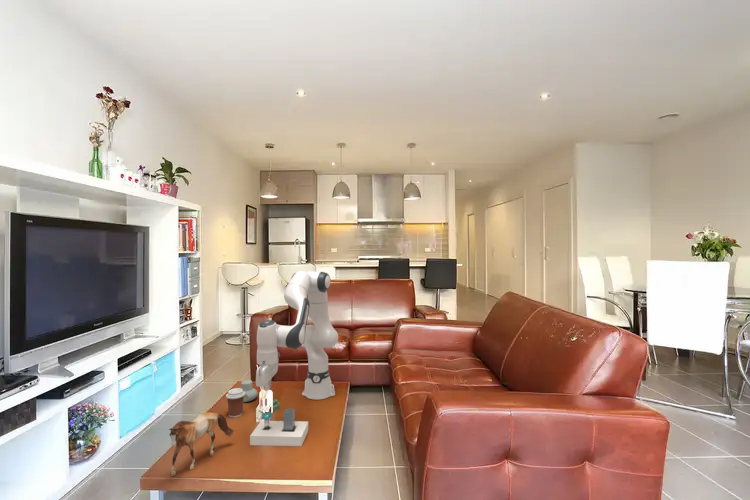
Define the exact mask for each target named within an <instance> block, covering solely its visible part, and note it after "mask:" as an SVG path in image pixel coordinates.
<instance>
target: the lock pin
mask: <svg viewBox="0 0 750 500" xmlns="http://www.w3.org/2000/svg"><path fill="white" fill-rule="evenodd" d="M271 418H273V413H271V412H265V413H262V414H261V419H262V420H263V421H264V429H265V430H268V429H269V428H270V427H269V421H270V419H271Z"/></svg>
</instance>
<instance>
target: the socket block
mask: <svg viewBox="0 0 750 500" xmlns="http://www.w3.org/2000/svg"><path fill="white" fill-rule="evenodd" d="M269 427H270V428H269V429H268V430H265V429H264V420H261V421H259V423H258V425H257V426H255V429H253V431H252V432H251V434H250V436H249V445H250V446H266V447H268V446H271V447H272V446H273V447H275V446H277V447H302V446H303V443H304V441H305V439H306V437H307V434H308V432H309V421H300V420H299V421H298V420H295V431H294V432H284V425H283V420H269Z"/></svg>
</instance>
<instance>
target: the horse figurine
mask: <svg viewBox="0 0 750 500" xmlns="http://www.w3.org/2000/svg"><path fill="white" fill-rule="evenodd" d="M216 426H218V427H219V429H220V430H221V431H222V432H224V434H225V435H226V436H227V437H231V435H234V432H235V431H236V430H235V429H232V428H231V427H229V426H228V422H227V419H226V417H225V416H224V415H223V414H221V413H219V412H203V413H200V414H199V415H197V416H196V418H195V419H194V420H193V421H188V420H180V421H178V422H177V423H175V424H174V425H173V426H172V427H171V428H169V431H170V432H169V436H170V438H171V442H170V445H171V446H172V447H175V448H174V450H173V451H174V453H173V456H172V464H171V474H170V475H171V477H175V476H176V473H177V472H176V469H175V464H176V460H177V458H178V455H179V453H180V451H181V449H182V448H183V447H184V446H187V447H188V448H189V450H190V451H189V454H190V455H189V456H190V457H191V464H190V465H189V471H193V469H194V468H195V462H196V459H195V456H194V454H195V451H194V443H195V441H196V440H198V439H199V438H201V437H202V436H203V435H205V433H207V434H208V435H209V436H210V439H211V443H210V446H209V456H210V457H212V456H213V455H214V449H215V447H216V446H215V443H216V441H215V439H216V433H215V432H214V429H215V428H216Z"/></svg>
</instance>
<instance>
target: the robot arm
mask: <svg viewBox="0 0 750 500" xmlns="http://www.w3.org/2000/svg"><path fill="white" fill-rule="evenodd" d="M331 282H332V281H331V276H330V275H329V273H327V272H325V271H315V270H314V271H313V270H312V271H311V270H310V271H304V270H300V271H299V270H298V271H297V272H295V273H293V274H292V276H291V278H290V280H289V281H288V283H287V286H286V288H285V291H284V294H283V297H284V301H285V303H286V304H287V305H288V306H289V307H291V308H293V309H295V310H297V317H296V321H295V324H293V325H282V324H277V322H276V321H275V320H273V319H272V320H271V319H270V320H269V319H268V320H264V321H261V322H260V323H258V325H257V331H256V345H257V349H256V364H257V365H259V366H258V367H257V369H256V371H255V373H256V374H255V386H256V387H257V388H261V387H262V388H263V387H264V390H263V391H268V392H269V390H270V389H271V383H272V378H273V377H274V376H275V375H276V374H277V373H278V370H279V358H280V357H281V355H280V352H278V347H280V348H288V349H293V350H297V349H299V348H301V346H302V345H303V346H304V349H305V351H306V354H307V361H308V368H307V369H308V370H307V378H306V379H305V381H304V390H303V391H302V393H301V396H303V397H305V398H307V399H310V400H324V399H328V398H330V397H334V396H336V391H335V386H334V384H333V383H332V380H331V377H330V369H329V356H328V354H327V353H326V351H325V350H324V348H325V349H326V348H333V347H335V346H336V345H337V343H338V341H339V334H338V331H337V330H336V329H335V328H334V326H333V325H332V322H331V321H330V317H329V308H328V307H329V306H328V305H329V304H328V303H329V302H328V298H329V297H328V292H327V291H328V290H329V288H330V286H331ZM308 318H309V319H310V320H311V322H312V323H313V324H307V323H308Z"/></svg>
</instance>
